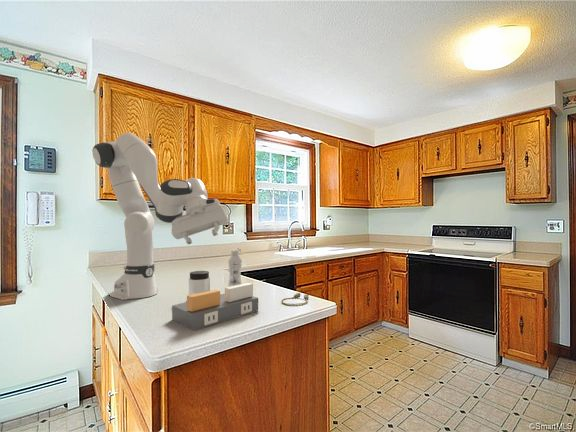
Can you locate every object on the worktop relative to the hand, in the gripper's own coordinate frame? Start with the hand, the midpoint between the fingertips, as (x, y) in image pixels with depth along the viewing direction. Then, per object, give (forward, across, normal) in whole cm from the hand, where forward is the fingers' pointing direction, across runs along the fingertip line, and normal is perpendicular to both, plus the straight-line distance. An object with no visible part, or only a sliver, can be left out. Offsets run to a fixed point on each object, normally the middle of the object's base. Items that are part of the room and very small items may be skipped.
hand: (202, 238), depth 103 cm
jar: (+1, -16, +37) cm, 40 cm away
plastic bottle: (-3, -2, +49) cm, 49 cm away
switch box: (+16, -7, +24) cm, 29 cm away
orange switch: (+18, -6, +13) cm, 23 cm away
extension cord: (+16, +25, +41) cm, 51 cm away
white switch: (+14, +4, +23) cm, 27 cm away
